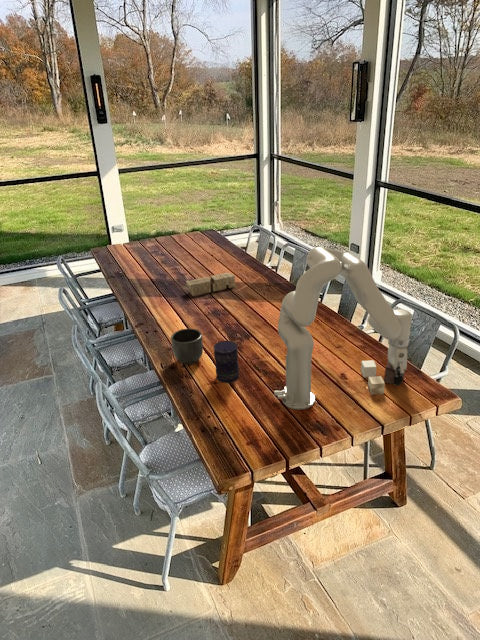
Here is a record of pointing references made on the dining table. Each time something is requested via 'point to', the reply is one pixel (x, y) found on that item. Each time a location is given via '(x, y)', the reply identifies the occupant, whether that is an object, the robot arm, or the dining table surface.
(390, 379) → the box
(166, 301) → the dining table surface
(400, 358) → the robot arm
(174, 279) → the dining table surface
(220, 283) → the tan double block
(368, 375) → the grey block
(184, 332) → the planter
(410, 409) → the dining table surface
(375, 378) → the birch block
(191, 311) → the dining table surface
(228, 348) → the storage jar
